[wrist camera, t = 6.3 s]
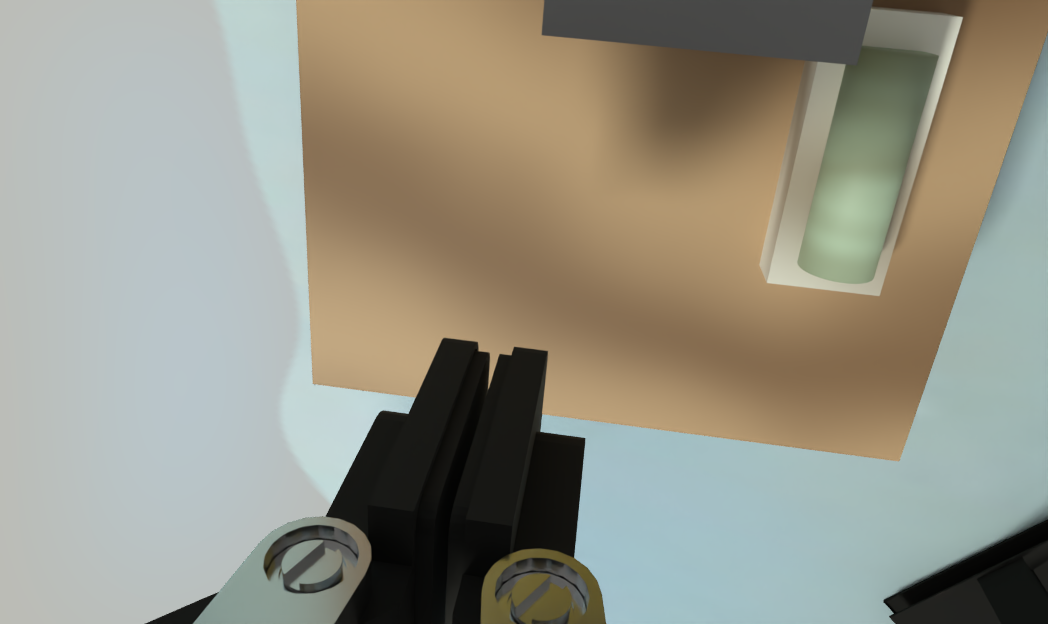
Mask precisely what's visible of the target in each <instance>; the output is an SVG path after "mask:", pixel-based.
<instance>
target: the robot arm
mask: <svg viewBox="0 0 1048 624" xmlns="http://www.w3.org/2000/svg"><path fill="white" fill-rule="evenodd" d="M547 360H548V351H545V350H537V349H529V348H522V347H514V348H513V351H512V355H505V354H499V357H498V360H497V363H496V367H495V370H494V373H493V376H492V380H491V383H490V386H489V389H488V384H489V368H490V353H489V352H482V351H479V347H478V342H475V341H467V340H459V339H451V338H443V339H442V341H441V343H440V345H439V347H438V350H437V352H436V354H435V356H434V358H433V361H432V363H431V365H430V367H429V370H428V372H427V374H426V376H425V378H424V381H423V383H422V385H421V387H420V390H419V392H418V394H417V396H416V398H415V401H414V403H413V405H412V407H411V409H410V412H409V414H405V413H397V412H390V411H381V412H380V413H379V414H378V416H377V417H376V419H375V421H374V423H373V425H372V427H371V429H370V431H369V433H368V435H367V436H366V438H365V440H364V442H363V444H362V446H361V448H360V450H359V452H358V454H357V456H356V458H355V460H354V462H353V464H352V466H351V468H350V470H349V472H348V474H347V476H346V478H345V480H344V481H343V483H342V485H341V487H340V489H339V491H338V493H337V495H336V497H335V499H334V501H333V503H332V505H331V507H330V509H329V511H328V513H327V515H326V517H323V516H322V517H310V518H303V519H299V520H296V521H293V522H289V523H287V524H285V525H283V526H281V527H279V528H277V529H275V530H274V531H272V532H271V533H270V534H269V535H267V536H266V537H265V538H264V539H263V540H262V541H261V542H260V543H259V544H258V545H257V547H256V548H255V549H254V550H253V551H252V552H251V554H250V555H249V556H248V557H247V559H246V560H245V561H244V562H243V563H242V565H241V566H240V567H239V568H238V569H237V571H236V572H235V573H234V574H233V576H232V577H231V578H230V579H229V581H228V582H227V583H226V584H225V585H224V587H223V588H222V589H221V590H220V591H219V592H218V593H215V594H213V595H211V596H208V597H206V598H204V599H201V600H199V601H197V602H194V603H192V604H190V605H187V606H185V607H183V608H181V609H178V610H176V611H173V612H171V613H169V614H166V615H164V616H162V617H160V618H157V619H155V620H153V621H150V622H148V623H146V624H606V620H605V613H604V606H603V599H602V594H601V591H600V588H599V585H598V582H597V580H596V578H595V577H594V576H593V575H592V573H591V572H590V571H589V569H588V568H587V567H585V566H584V565H583V564H581V563H580V562H579V561H577V560H576V559H575V558H574V553H575V542H576V532H577V521H578V511H579V501H580V490H581V480H582V469H583V459H584V448H585V438H580V437H573V436H566V435H558V434H551V433H544V432H540V429H541V419H542V409H543V400H544V390H545V380H546V370H547Z"/></svg>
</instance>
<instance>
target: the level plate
mask: <svg viewBox="0 0 1048 624" xmlns="http://www.w3.org/2000/svg"><path fill="white" fill-rule="evenodd" d="M296 6H297V29H298V52H299V75H300V98H301V121H302V144H303V167H304V190H305V213H306V236H307V259H308V283H309V306H310V329H311V352H312V375H313V384H318V385H325V386H333V387H340V388H348V389H356V390H363V391H371V392H378V393H386V394H393V395H401V396H409V397H416V396H417V394H418V392H419V390H420V387H421V385H422V383H423V381H424V378H425V376H426V374H427V372H428V370H429V367H430V365H431V363H432V361H433V358H434V356H435V354H436V352H437V350H438V347H439V345H440V343H441V341H442V339H443V338H451V339H459V340H467V341H475V342H478V347H479V351H482V352H489V353H490V368H489V384H488V389H489V386H490V383H491V380H492V376H493V373H494V370H495V367H496V363H497V360H498V357H499V354H505V355H512V351H513V348H514V347H522V348H529V349H537V350H545V351H548V360H547V370H546V380H545V390H544V400H543V409H542V414H545V415H552V416H560V417H568V418H575V419H583V420H590V421H598V422H605V423H613V424H621V425H628V426H636V427H643V428H651V429H658V430H666V431H674V432H681V433H689V434H696V435H704V436H711V437H719V438H727V439H734V440H742V441H749V442H757V443H764V444H772V445H780V446H787V447H795V448H802V449H810V450H817V451H825V452H833V453H840V454H848V455H855V456H863V457H870V458H878V459H885V460H893V461H899V460H900V457H901V455H902V452H903V449H904V446H905V443H906V440H907V437H908V434H909V431H910V429H911V426H912V423H913V420H914V417H915V414H916V411H917V408H918V405H919V403H920V400H921V397H922V394H923V391H924V388H925V385H926V382H927V379H928V377H929V374H930V371H931V368H932V365H933V362H934V359H935V356H936V353H937V351H938V348H939V345H940V342H941V339H942V336H943V333H944V330H945V327H946V325H947V322H948V319H949V316H950V313H951V310H952V307H953V304H954V302H955V299H956V296H957V293H958V290H959V287H960V284H961V281H962V278H963V276H964V273H965V270H966V267H967V264H968V261H969V258H970V255H971V252H972V250H973V247H974V244H975V241H976V238H977V235H978V232H979V229H980V226H981V224H982V221H983V218H984V215H985V212H986V209H987V206H988V203H989V200H990V198H991V195H992V192H993V189H994V186H995V183H996V180H997V177H998V174H999V172H1000V169H1001V166H1002V163H1003V160H1004V157H1005V154H1006V151H1007V148H1008V146H1009V143H1010V140H1011V137H1012V134H1013V131H1014V128H1015V125H1016V122H1017V120H1018V117H1019V114H1020V111H1021V108H1022V105H1023V102H1024V99H1025V96H1026V94H1027V91H1028V88H1029V85H1030V82H1031V79H1032V76H1033V73H1034V70H1035V68H1036V65H1037V62H1038V59H1039V56H1040V53H1041V50H1042V47H1043V44H1044V42H1045V39H1046V36H1047V33H1048V0H296Z"/></svg>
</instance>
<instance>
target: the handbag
mask: <svg viewBox="0 0 1048 624" xmlns="http://www.w3.org/2000/svg"><path fill="white" fill-rule="evenodd" d="M884 603H885V604H886V605H887V606H888V607H889V608H890V609H891V611H892V612H893V613H894V614H893V615H891V616H889V617H890V618H891V619H892V621H893V622H894V623H895V624H1048V520H1046V521H1044V522H1042V523H1040V524H1038V525H1036V526H1034V527H1032V528H1030V529H1028V530H1026V531H1024V532H1022V533H1020V534H1018V535H1016V536H1014V537H1012V538H1010V539H1008V540H1006V541H1004V542H1002V543H1000V544H998V545H996V546H994V547H992V548H990V549H987V550H985V551H983V552H981V553H979V554H977V555H975V556H973V557H971V558H969V559H967V560H965V561H963V562H961V563H959V564H957V565H955V566H953V567H951V568H949V569H947V570H945V571H943V572H941V573H939V574H937V575H935V576H933V577H931V578H929V579H927V580H925V581H922V582H920V583H918V584H916V585H914V586H912V587H910V588H908V589H906V590H904V591H902V592H900V593H898V594H896V595H894V596H892V597H890V598H888V599H886V600H884Z"/></svg>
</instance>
